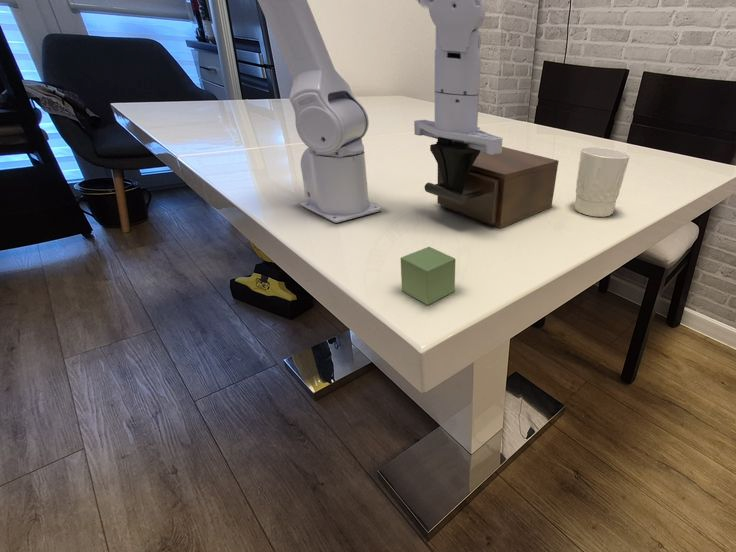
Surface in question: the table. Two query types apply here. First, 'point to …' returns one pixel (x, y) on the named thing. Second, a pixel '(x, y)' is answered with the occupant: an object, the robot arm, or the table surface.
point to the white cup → (599, 180)
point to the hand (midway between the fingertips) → (454, 194)
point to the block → (428, 275)
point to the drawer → (470, 196)
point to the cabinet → (518, 183)
